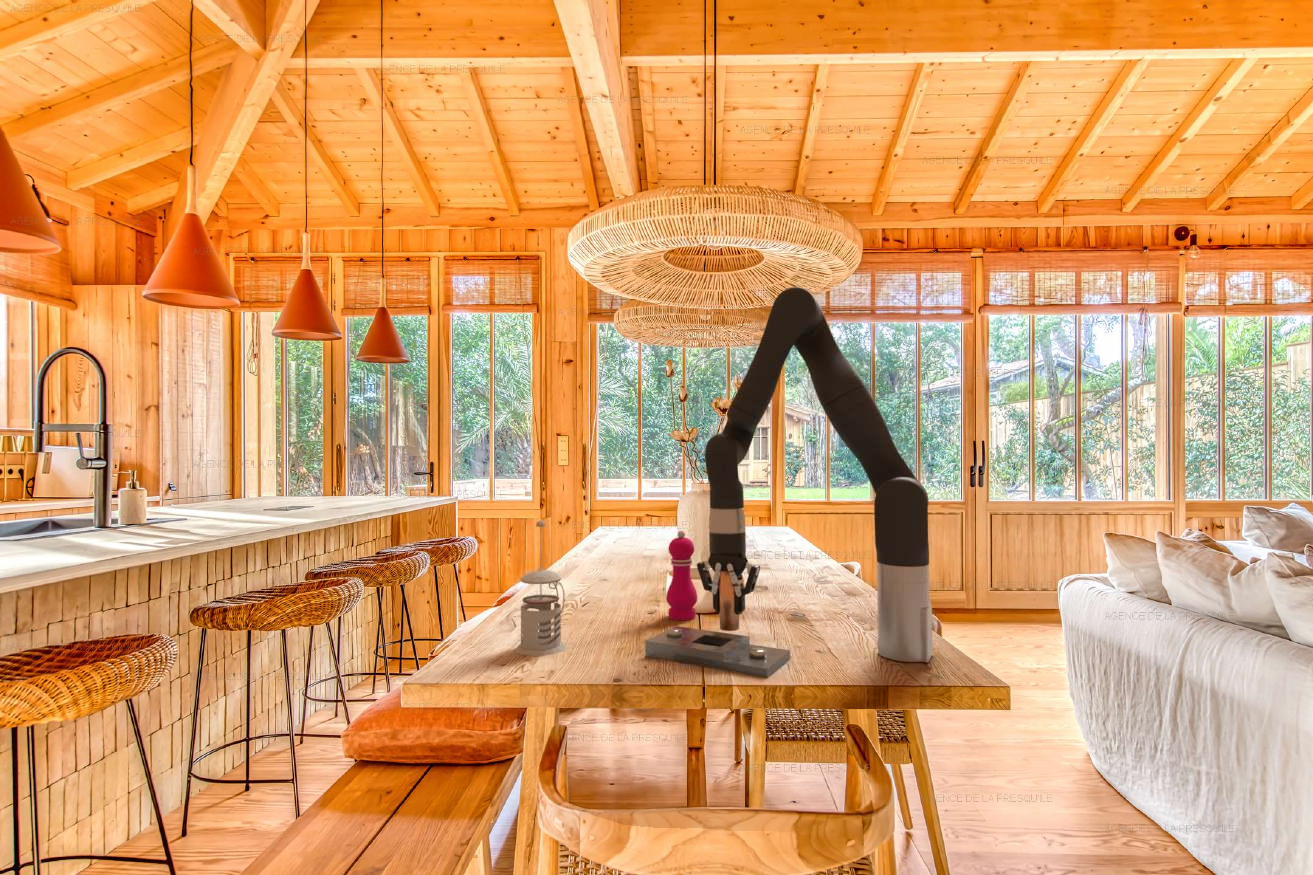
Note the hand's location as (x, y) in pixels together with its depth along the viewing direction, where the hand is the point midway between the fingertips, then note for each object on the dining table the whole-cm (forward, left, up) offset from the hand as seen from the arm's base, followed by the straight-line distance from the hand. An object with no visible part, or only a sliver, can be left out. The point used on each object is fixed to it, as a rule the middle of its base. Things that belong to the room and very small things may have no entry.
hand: (728, 612), depth 137 cm
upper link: (0, +14, -5) cm, 15 cm away
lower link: (-7, +14, -5) cm, 16 cm away
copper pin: (0, 0, -3) cm, 3 cm away
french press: (+29, +24, -5) cm, 38 cm away
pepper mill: (+16, -10, -5) cm, 20 cm away
